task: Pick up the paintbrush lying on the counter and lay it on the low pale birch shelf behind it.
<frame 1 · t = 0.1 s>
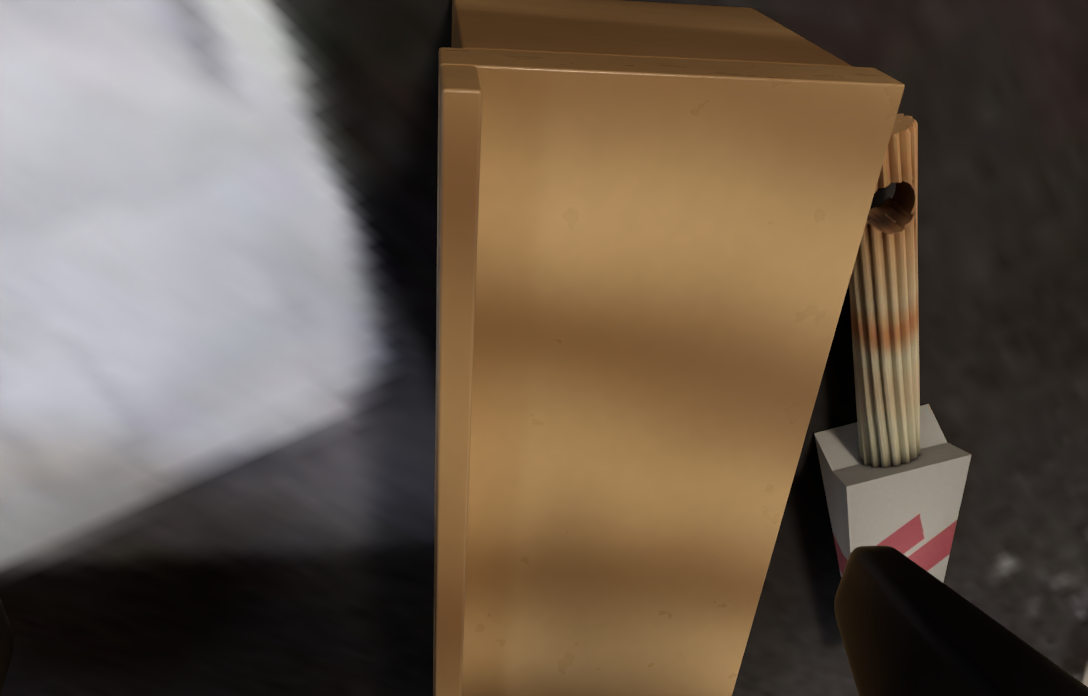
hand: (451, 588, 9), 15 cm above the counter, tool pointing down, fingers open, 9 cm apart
shelf: (563, 415, 26), on the counter
paintbrush: (867, 408, 28), on the counter
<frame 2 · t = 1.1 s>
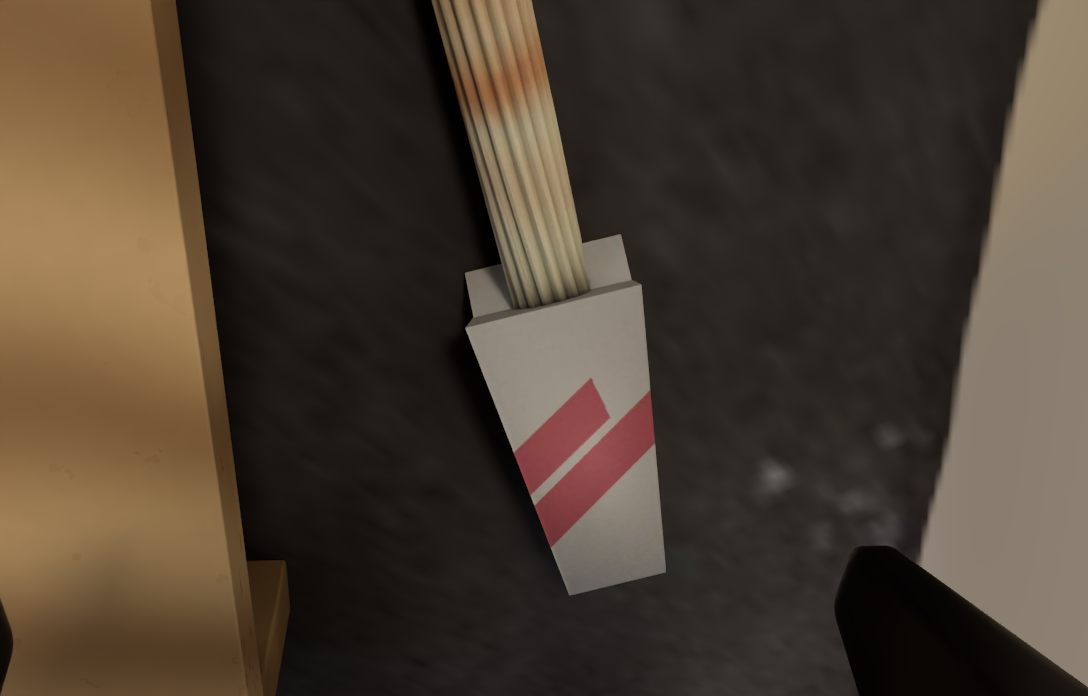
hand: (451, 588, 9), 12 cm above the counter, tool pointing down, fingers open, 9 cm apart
shelf: (84, 229, 19), on the counter
paintbrush: (537, 239, 20), on the counter
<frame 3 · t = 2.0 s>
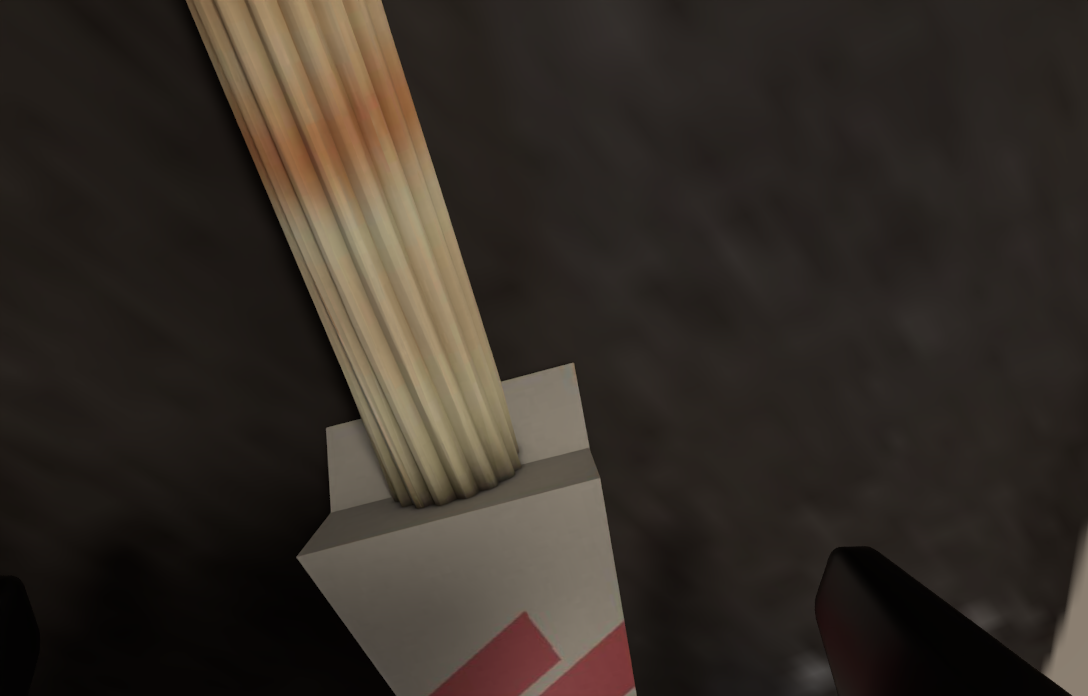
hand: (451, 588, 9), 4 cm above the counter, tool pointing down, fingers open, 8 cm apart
paintbrush: (441, 372, 13), on the counter
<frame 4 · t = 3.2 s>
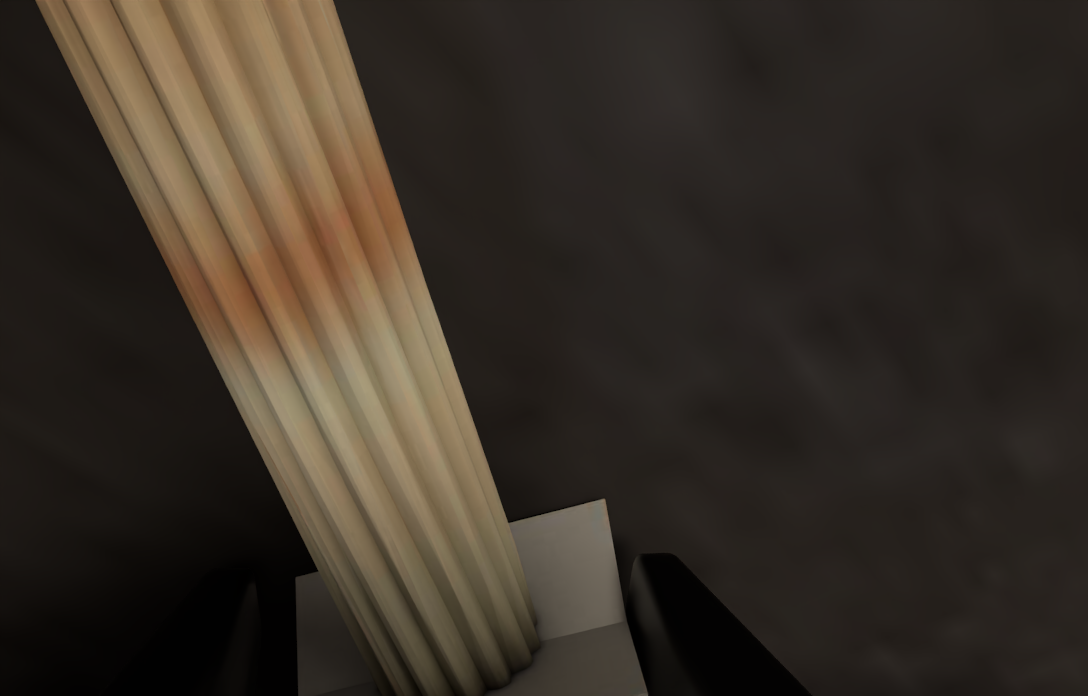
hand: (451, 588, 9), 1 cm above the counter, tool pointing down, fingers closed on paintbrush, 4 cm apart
paintbrush: (439, 509, 10), on the counter, touching gripper
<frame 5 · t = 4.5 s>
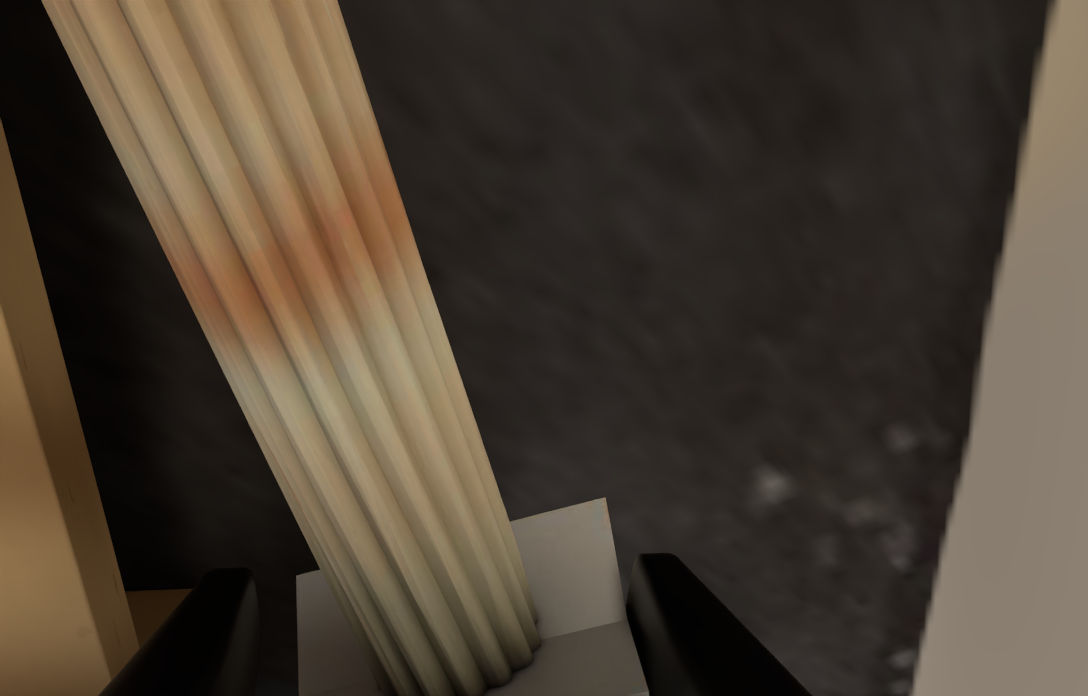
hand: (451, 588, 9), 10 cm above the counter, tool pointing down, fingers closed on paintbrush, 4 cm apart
paintbrush: (440, 508, 10), point 8 cm above the counter, touching gripper
when the fingers open (10 cm above the counter, at t = 6.0 s): paintbrush drops 1 cm, resting on shelf.
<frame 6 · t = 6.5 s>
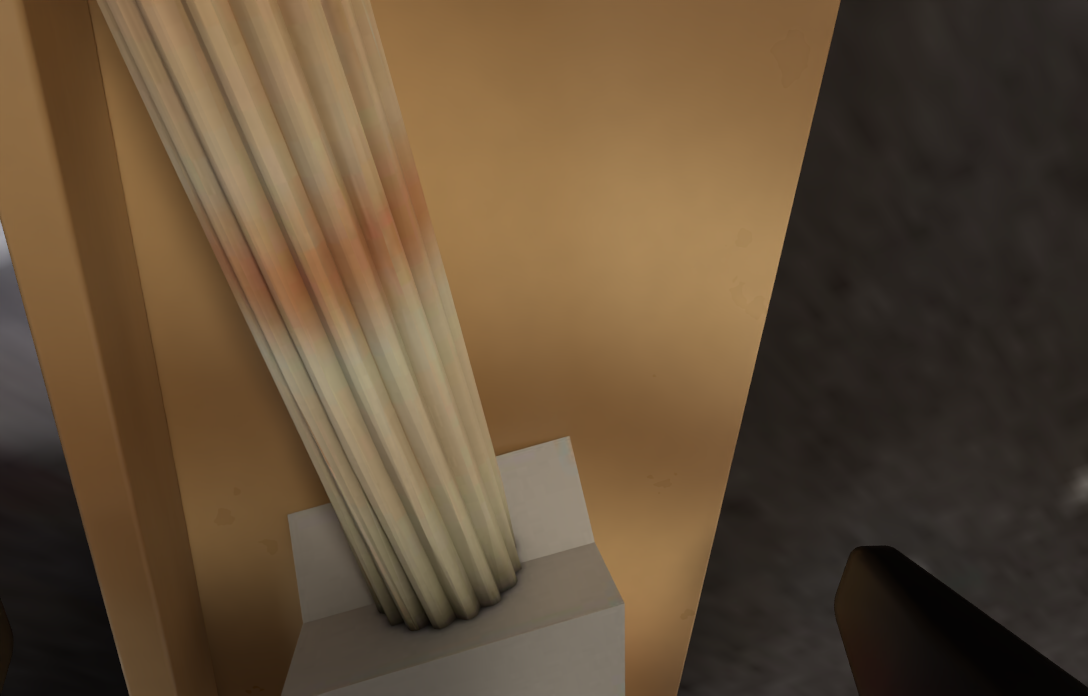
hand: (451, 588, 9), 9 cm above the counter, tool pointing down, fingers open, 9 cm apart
shelf: (437, 226, 17), on the counter
paintbrush: (420, 449, 11), point 7 cm above the counter, touching shelf
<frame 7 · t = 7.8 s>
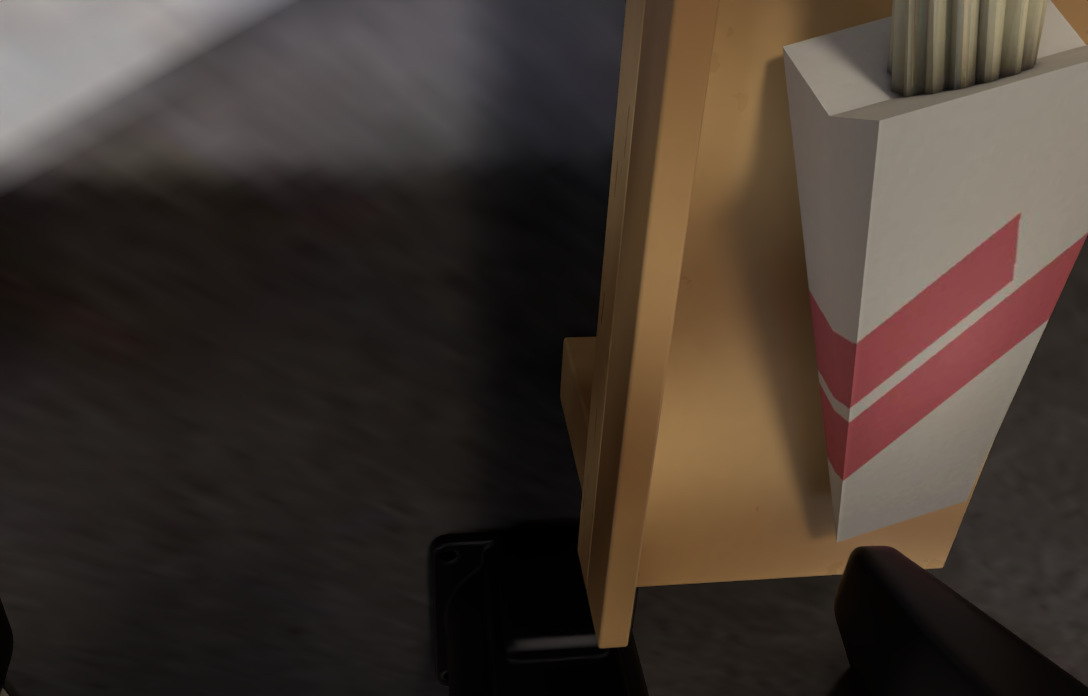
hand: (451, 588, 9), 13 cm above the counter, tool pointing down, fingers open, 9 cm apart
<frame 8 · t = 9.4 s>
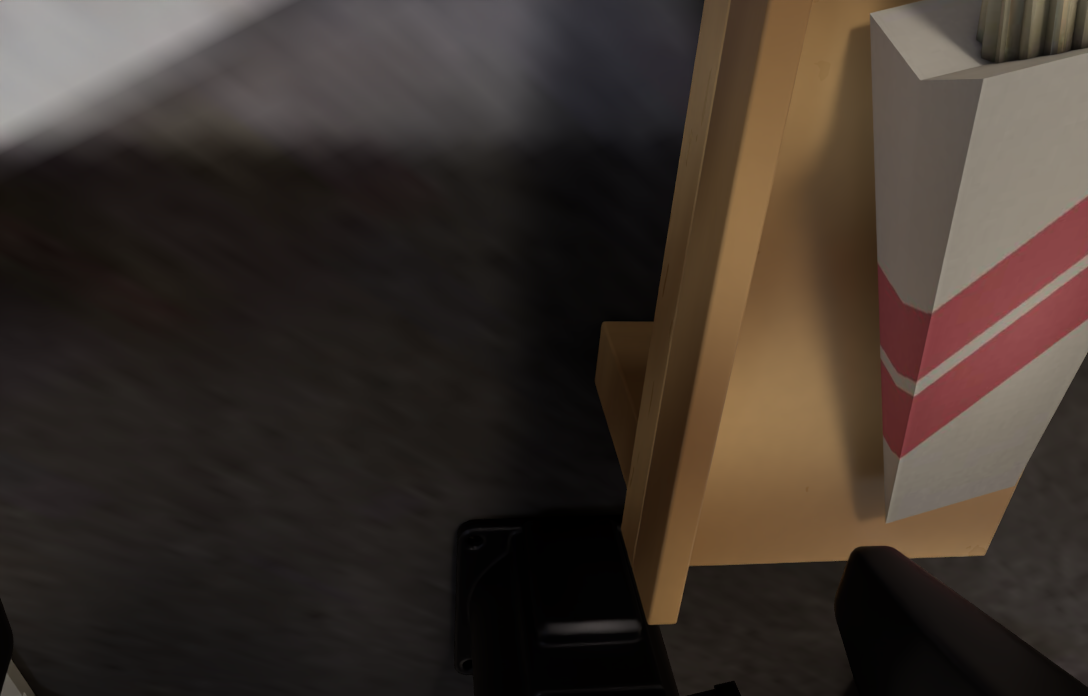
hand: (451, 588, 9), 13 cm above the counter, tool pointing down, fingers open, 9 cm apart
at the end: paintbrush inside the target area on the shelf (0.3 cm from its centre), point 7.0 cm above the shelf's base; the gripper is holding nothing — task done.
